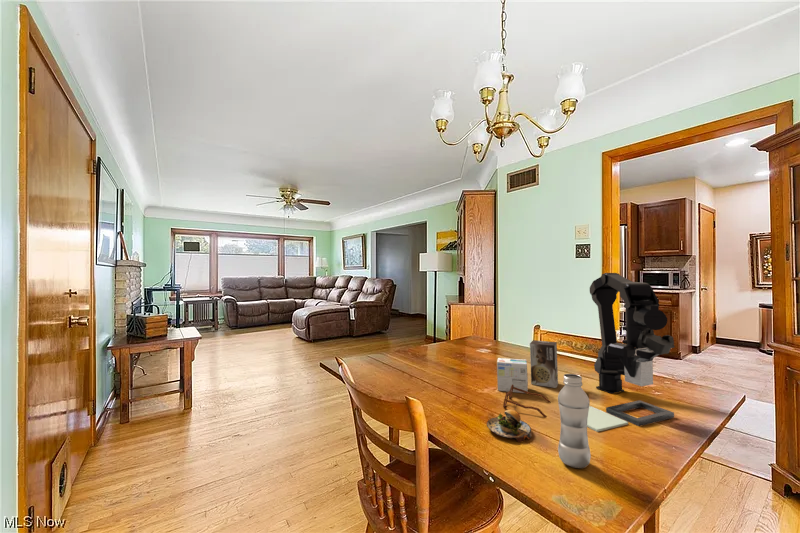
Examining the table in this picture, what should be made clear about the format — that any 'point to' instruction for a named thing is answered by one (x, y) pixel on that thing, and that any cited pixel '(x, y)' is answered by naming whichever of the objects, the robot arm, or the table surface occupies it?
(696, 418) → the table surface
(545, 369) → the coffee box
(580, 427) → the plastic bottle
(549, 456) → the table surface
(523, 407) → the glasses
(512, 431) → the burger
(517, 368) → the light bulb box
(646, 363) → the block
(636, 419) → the socket frame
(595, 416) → the felt pad
